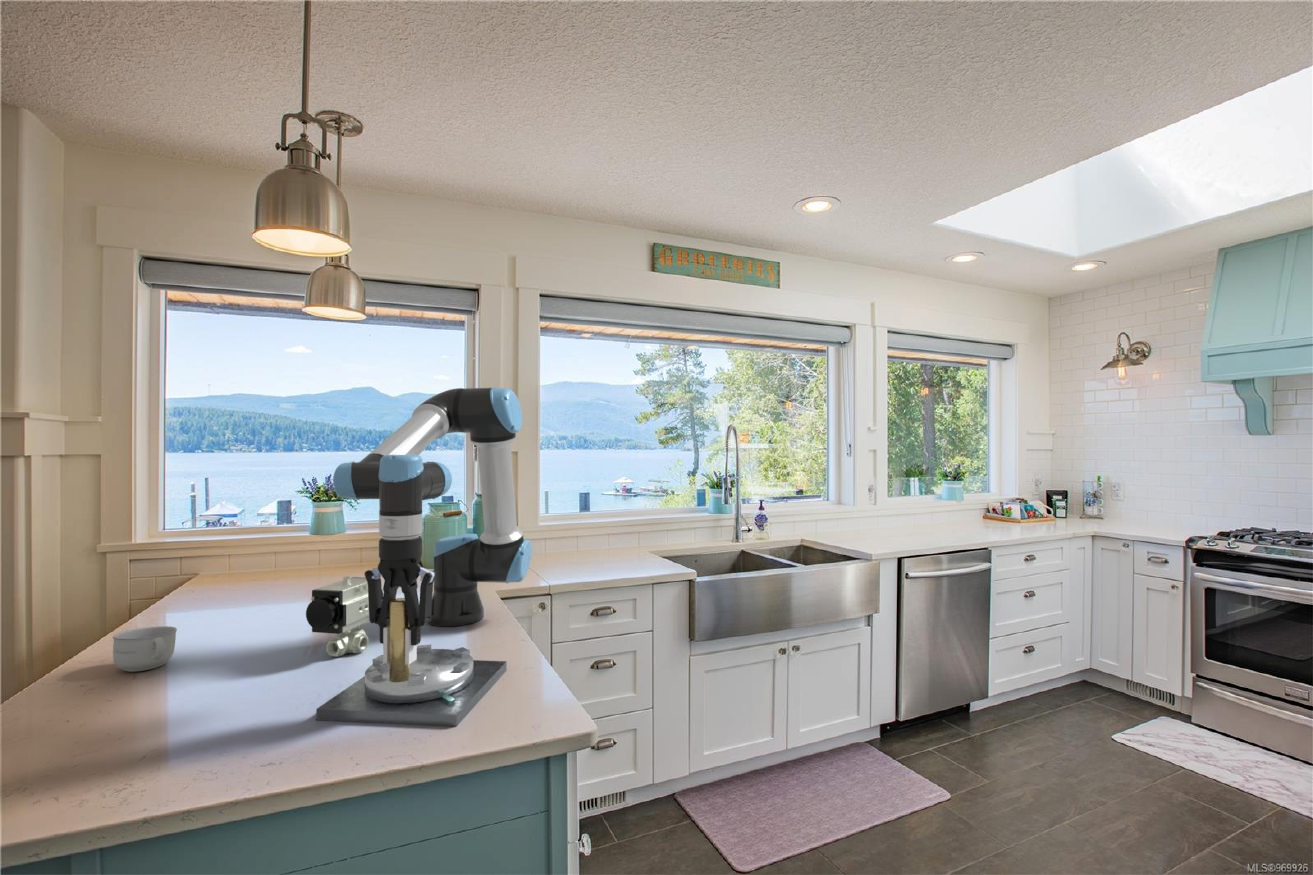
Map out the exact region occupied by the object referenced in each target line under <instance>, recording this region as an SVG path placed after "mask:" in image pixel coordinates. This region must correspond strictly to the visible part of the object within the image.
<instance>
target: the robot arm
mask: <svg viewBox="0 0 1313 875" xmlns="http://www.w3.org/2000/svg"><path fill="white" fill-rule="evenodd" d="M522 421H523V413H522V408H521V403H520V401H519V398H518V396H517V395H516V393H515V392H514V391H513V390H511V389H509V388H503V387H502V388H501V387H475V388H474V387H473V388H472V387H468V388H462V387H460V388H451V389H448V390H444V391H443V392H442V391H441V392H440V393H438V394H435V395H433V396H432V397H430V398H427V399H426V400H425V401H423V402H422V403H420V404H419V405H418V406H417V407H416V408H415V409H414V410H413V412H412V414H411V418H409V419H408V420H407V421H406V422H404V423H403V424H402V425H401V426H400V427H398V428H397V429H396V430H395V431H394V432H393V433H391V434H390V435H389V436H388V437H387V438H386V439H384V440H383V442H381V443H380V444H379V445H378V446H376V447H375V448H374V449H372V451H371V452H370V453H368V454H367V455H366V456H365V457H364V458H362V460H360V461H357V462H356V461H350V462H343V463H340V464H339V465H338V466H337V467H336V468H335V470H334V472H333V477H332V485H333V487H334V488H333V489H334V492H335V493H336V495H338V496H339V497H340V498H341V499H350V500H351V499H352V500H356V501H358V500H378V502H379V510H378V519H379V520H378V536H379V537H381V538H380V539H379V540H378V557H379V560H380V561H379V563H378V565H377V566H376V567H374V568H370V569H369V570H368V569H367V570H366V571H365V572H364V578H366V580H367V583H368V600H369V621H368V622H369V623H371V624H376V625H378V626H379V643H380V644H382V645H383V648H382V649H383V650H382V651H383V652H382V653H383V654H382V655H383V663H388V662H389V601H391V600H393V599H396V597H397V593H398V589H399V587H400V588H401V592H402V593H403V596H404V597H403V598H405V603H406V609H407V615H408V621H409V627H407V629H405V664H407V665H409V664H411V663H412V662H413V661H415V660H416V659H417V646H418V645H420V643H421V641H422V640H421V639H422V638H421V637H422V636H421V634H422V633H421V632H422V630H421V629H422V627H423V626H425V625H427V624H429V625H431V626H434V627H435V626H436V627H458V626H464V625H470V624H473V623H474V624H475V623H476V622H479V621H481V620H482V619H484V617H485V616H484V615H485V610H484V605H483V601H482V600H481V596H480V593H479V590H478V583H500V584H501V583H502V584H503V583H504V584H509V583H512V584H513V583H521V582H522V581H523V580H524V579H525V578H526V577H527V575H528V571H529V569H530V566H531V560H532V552H533V551H532V550H533V549H532V542H531V541H530V540H529V539H525V538H524V532H523V531H522V529H520V528H519V527H518V524H517V510H516V497H515V496H516V495H515V487H514V486H515V485H514V473H513V461H512V460H513V459H512V447H511V446H512V445H511V444H512V443H513V441H514V440H516V438H517V437H516V436H517V435H516V433H518V432H520V431H521V428H522V426H523V422H522ZM454 433H462V434H463V433H469V436H470V442H471V443H472V444H473V445H475V446H476V449H477V457H478V459H477V461H478V470H479V480H480V490H481V491H480V492H481V502H482V503H481V504H482V513H483V514H482V515H483V524H484V526H483V527H484V532H483V533H481V535H480V536H478V534H477V533H462V534H457V535H451V536H446V537H442V538H440V539H438V540H437V541H435V543H434V545H433V555H432V558H433V560H432V561H433V570H429V569H427V568H424V564H423V562H422V555H423V537H422V536H420V535H422V534H423V501H427V500H436V499H437V498H438V499H439V497H441V496H444V495H445V494H447V492H449V490H450V489H451V486H452V482H453V477H452V472H451V471H450V469H449V468H448V466H446V465H445V464H443V463H441V462H437V461H425V462H423V458H422V457H421V453H423V452H424V450H426V448H428V447H429V446H430V445H431V443H433V442H434V441H435V440H438V439H441V438H443V437H445V435H447V434H454ZM419 576H420V578H419ZM381 577H382V578H383V580H384V581H383V582H384V583H383V585H382V579H381ZM418 578H419V580H420V586H419V587H420V588H419V590H420V591H419V594H418ZM382 586H383V587H382ZM382 591H383V600H382Z"/></svg>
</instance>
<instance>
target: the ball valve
mask: <svg viewBox="0 0 1313 875" xmlns="http://www.w3.org/2000/svg"><path fill="white" fill-rule="evenodd" d="M383 594H384V591H383V590H382V600H383ZM310 600H311V602H310V603H309V604H308V605H307V607H306V611H305V618H306V621H307V623H308V625H309V626H310V627H311V632H312V633H319V634H333V635H334V634H335V636H333V637H331V638H330V639H329V641H328V642H326V643H327V644H326V646H325V650H326V653H327V655H328V656H329V657H342V656H344V655H346V654H359V653H363V652H364V651H366V650H367V649H368V646H369V644H370V643H369V642H370V640H369V637H368V635H367V634H366V632H365V630H364V628H360V627H361V626H362V625H363V624H366V623H368V622H370V621H369V600H368V583H367V580H366V577H362V576H361V577H358V576H353V577H351V576H349V575H346V576H344V577H342V580H340V581H337V582H334V583H330V584H328V585H325V586H322V587H318V588H314V589H312V590H311V598H310Z"/></svg>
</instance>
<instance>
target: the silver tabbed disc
mask: <svg viewBox="0 0 1313 875" xmlns="http://www.w3.org/2000/svg"><path fill="white" fill-rule="evenodd" d="M407 627H409V621H408V615H407V609H406V603H405V597H397V598H396V599H393V600H391V601H389V662H388V663H383V654H381V655H379V656H376V657H374V658H372V664H371V665H370V666H368V668H367V669H366V670H365V672H364V676H365V693H366V695H367V696H368V697H370V698H372V699H374V700H377V701H381V702H389V703H411V702H420V701H426V700H432V699H436V698H440V697H441V696H443V695H447V694H448V695H449V694H452V693H454V692H456V691H458V690H460V689H462V688H464V687H465V686H467V685H468V684H469V683H470V682H471V681H472V679H473V660H474V659H473V657H472V656H471V654H470V649H468V648H466V647H464V646H462V647H459V648H455V649H449V648H447V649H446V648H432V644H423V645H422V644H421V645H420V644H419V645H417V659H416V660H415V661H413V662H412V663H411V664H409V665H407V664H405V629H407Z"/></svg>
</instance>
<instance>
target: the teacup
mask: <svg viewBox="0 0 1313 875" xmlns="http://www.w3.org/2000/svg"><path fill="white" fill-rule="evenodd" d="M177 631H178V628H177V627H175V626H167V625H166V626H165V625H163V626H162V625H161V626H159V625H158V626H147V627H139V628H133V629H128V630H124V631H120V632H117V633H116V634H114V635H113V636H112V638H113V645H112V660H113V663H114V665H115V666H116V667H118V668H120V669H122V670H123V671H124V672H127V673H129V672H131V673H132V672H136V673H137V672H143V671H149V670H154V669H157V668H160V667H162V666H163V665H164V664H165V663H166V662H168V661H169V660H170V659H171V658H172V657H173V655H174V652H175V649H176V648H175V646H176V638H177V636H176V635H177Z"/></svg>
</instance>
